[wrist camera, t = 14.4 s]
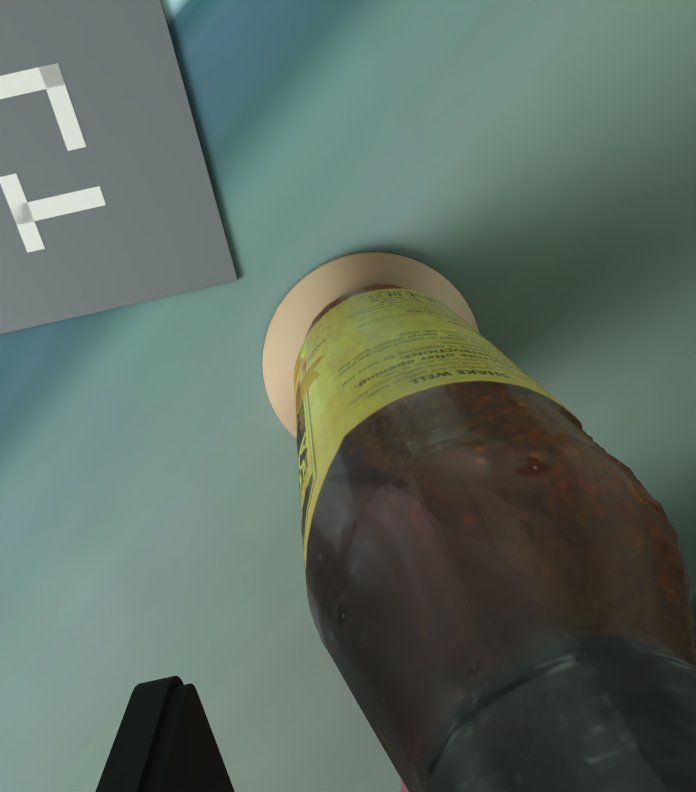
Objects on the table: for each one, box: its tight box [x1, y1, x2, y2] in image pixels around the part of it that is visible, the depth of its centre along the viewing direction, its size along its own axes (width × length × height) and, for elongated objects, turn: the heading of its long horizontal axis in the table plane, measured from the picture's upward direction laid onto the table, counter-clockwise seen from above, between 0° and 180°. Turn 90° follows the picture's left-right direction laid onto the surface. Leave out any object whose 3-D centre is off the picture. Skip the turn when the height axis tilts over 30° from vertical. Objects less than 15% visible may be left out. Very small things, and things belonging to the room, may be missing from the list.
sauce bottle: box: [294, 284, 696, 792], centre depth 12 cm, size 7×6×20 cm
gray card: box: [0, 0, 238, 334], centre depth 19 cm, size 10×10×1 cm
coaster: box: [263, 252, 479, 438], centre depth 22 cm, size 8×8×1 cm
